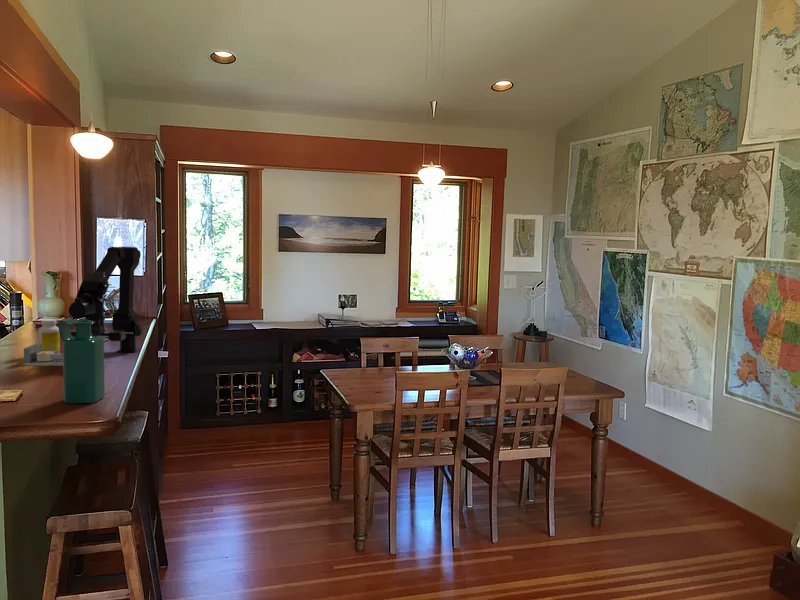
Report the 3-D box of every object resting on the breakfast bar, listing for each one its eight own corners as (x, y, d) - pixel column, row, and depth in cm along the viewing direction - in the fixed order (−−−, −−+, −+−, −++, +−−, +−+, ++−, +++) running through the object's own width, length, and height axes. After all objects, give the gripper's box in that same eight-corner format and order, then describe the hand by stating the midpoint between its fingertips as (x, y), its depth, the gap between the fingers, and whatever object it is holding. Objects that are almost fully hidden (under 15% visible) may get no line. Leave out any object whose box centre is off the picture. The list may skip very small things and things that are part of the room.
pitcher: (107, 396, 173) (106, 318, 171) (93, 404, 165) (92, 322, 162) (71, 395, 173) (70, 317, 170) (55, 403, 164) (54, 321, 162)
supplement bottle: (63, 355, 224) (63, 320, 223) (44, 358, 219) (44, 322, 217) (54, 353, 228) (53, 318, 227) (35, 355, 222) (34, 320, 221)
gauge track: (36, 359, 216) (36, 343, 216) (79, 359, 218) (78, 344, 218) (23, 365, 206) (22, 348, 206) (68, 365, 208) (67, 349, 208)
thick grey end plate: (43, 358, 215) (43, 349, 214) (83, 358, 216) (83, 349, 216) (33, 362, 207) (33, 353, 207) (75, 363, 209) (75, 353, 208)
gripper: (55, 318, 203) (56, 364, 205) (115, 319, 206) (115, 365, 207) (69, 313, 214) (70, 358, 216) (125, 314, 217) (126, 358, 218)
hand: (95, 360), depth 214 cm, fingers closed
